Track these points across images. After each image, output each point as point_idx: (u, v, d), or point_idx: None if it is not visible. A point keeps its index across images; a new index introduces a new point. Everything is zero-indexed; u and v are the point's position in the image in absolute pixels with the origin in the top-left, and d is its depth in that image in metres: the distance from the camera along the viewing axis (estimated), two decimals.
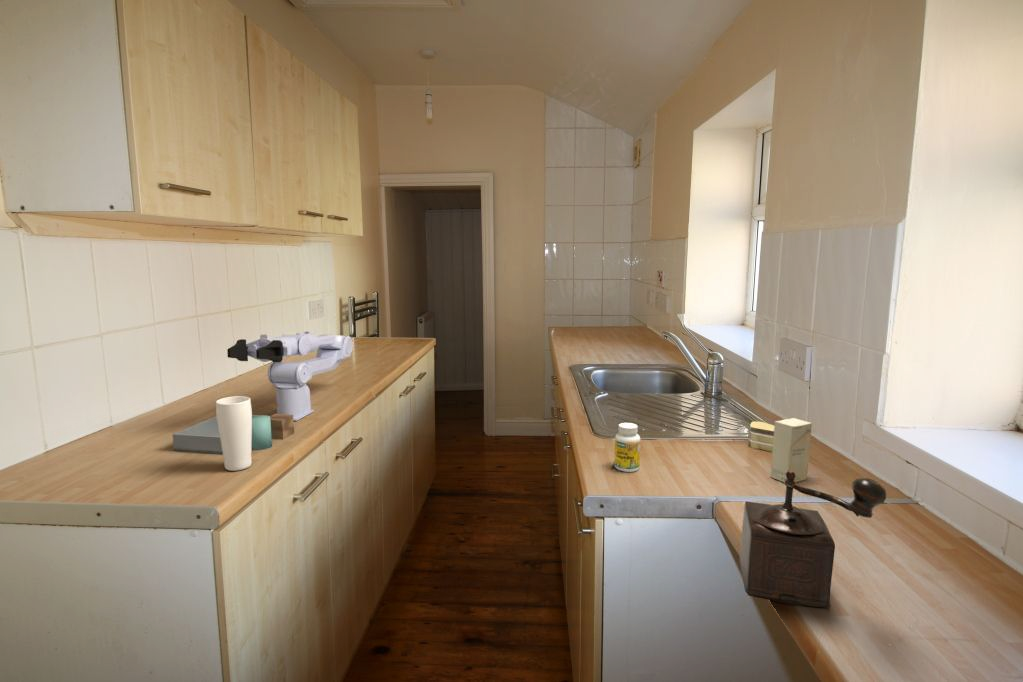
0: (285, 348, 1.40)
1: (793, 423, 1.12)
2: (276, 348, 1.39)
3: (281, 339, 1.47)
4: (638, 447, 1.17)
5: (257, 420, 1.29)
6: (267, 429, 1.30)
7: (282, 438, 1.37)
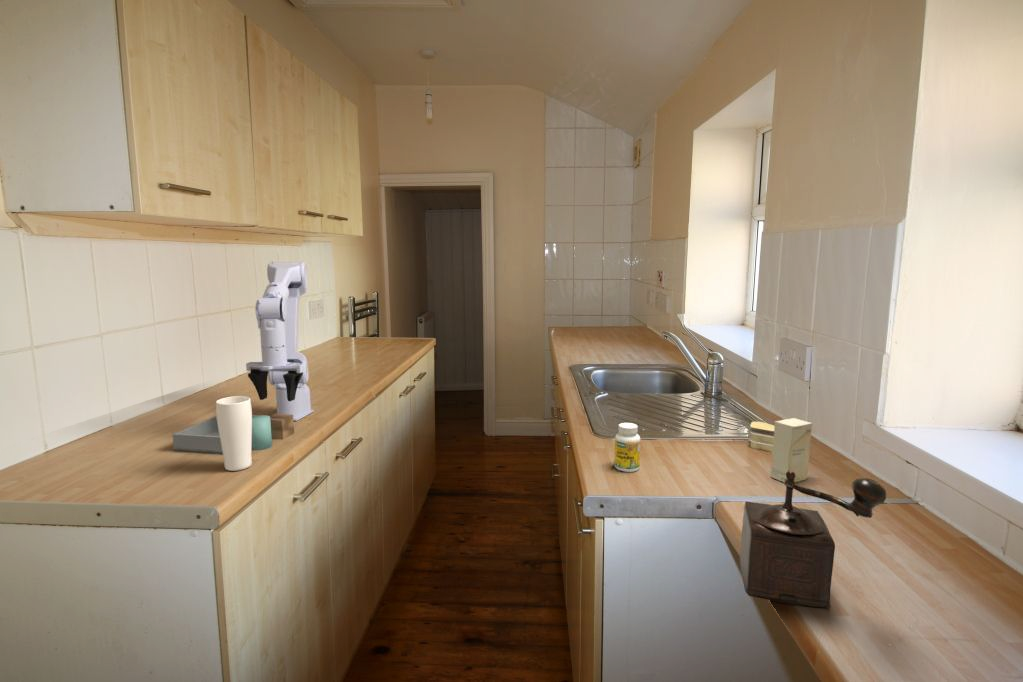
0: (298, 372, 1.35)
1: (794, 423, 1.12)
2: None
3: (278, 346, 1.34)
4: (638, 447, 1.17)
5: (257, 420, 1.29)
6: (267, 429, 1.30)
7: (282, 438, 1.37)
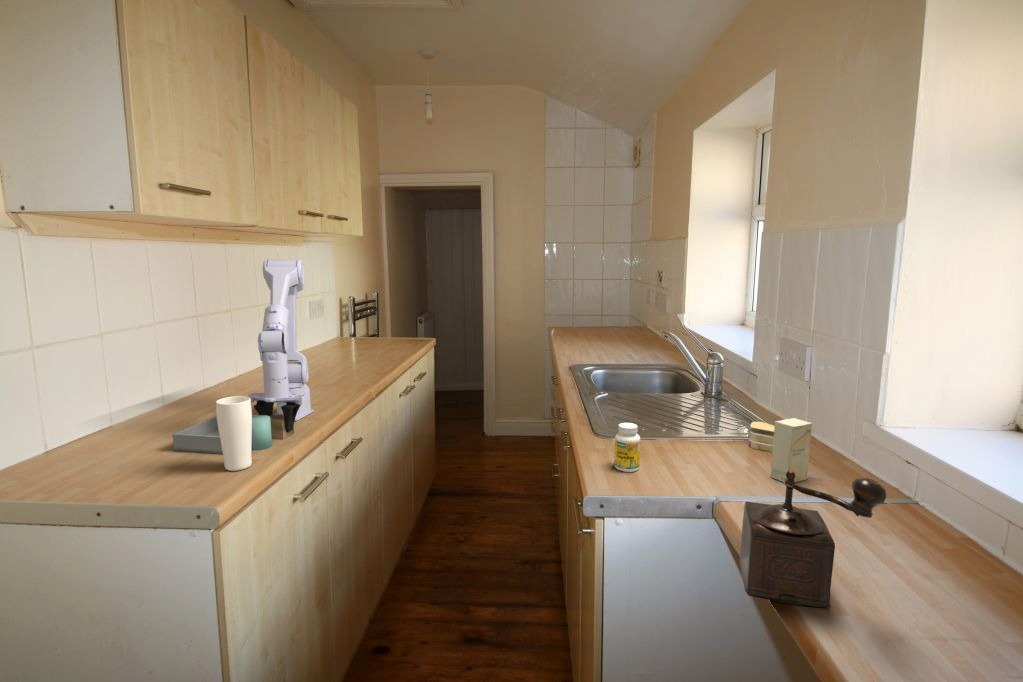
0: None
1: (794, 423, 1.12)
2: None
3: (280, 378, 1.35)
4: (638, 447, 1.17)
5: (257, 420, 1.29)
6: (267, 429, 1.30)
7: (282, 438, 1.37)
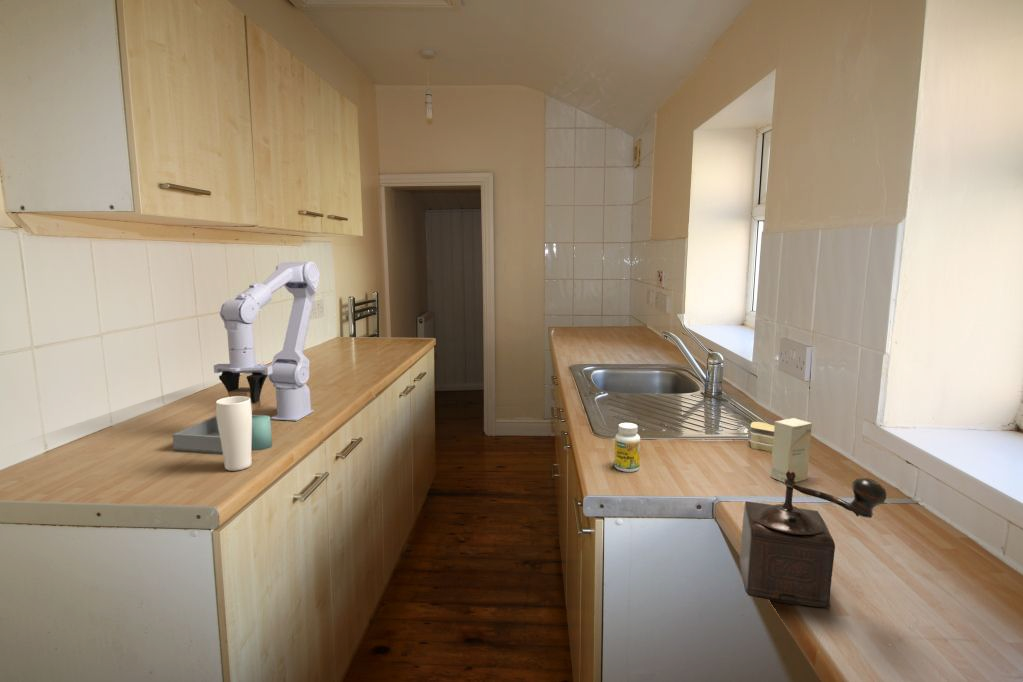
0: (266, 374, 1.35)
1: (793, 423, 1.12)
2: None
3: (239, 348, 1.33)
4: (638, 447, 1.17)
5: (257, 420, 1.29)
6: (267, 429, 1.30)
7: None
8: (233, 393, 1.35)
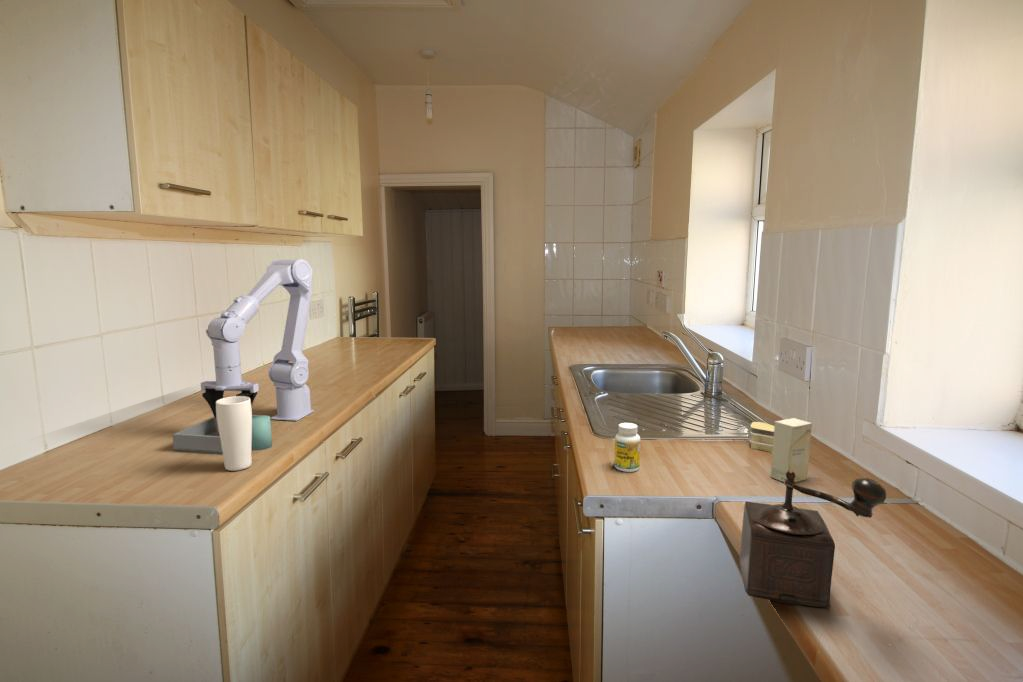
0: (252, 392, 1.36)
1: (793, 423, 1.12)
2: None
3: (223, 367, 1.34)
4: (638, 447, 1.17)
5: (257, 420, 1.29)
6: (267, 429, 1.30)
7: None
8: None
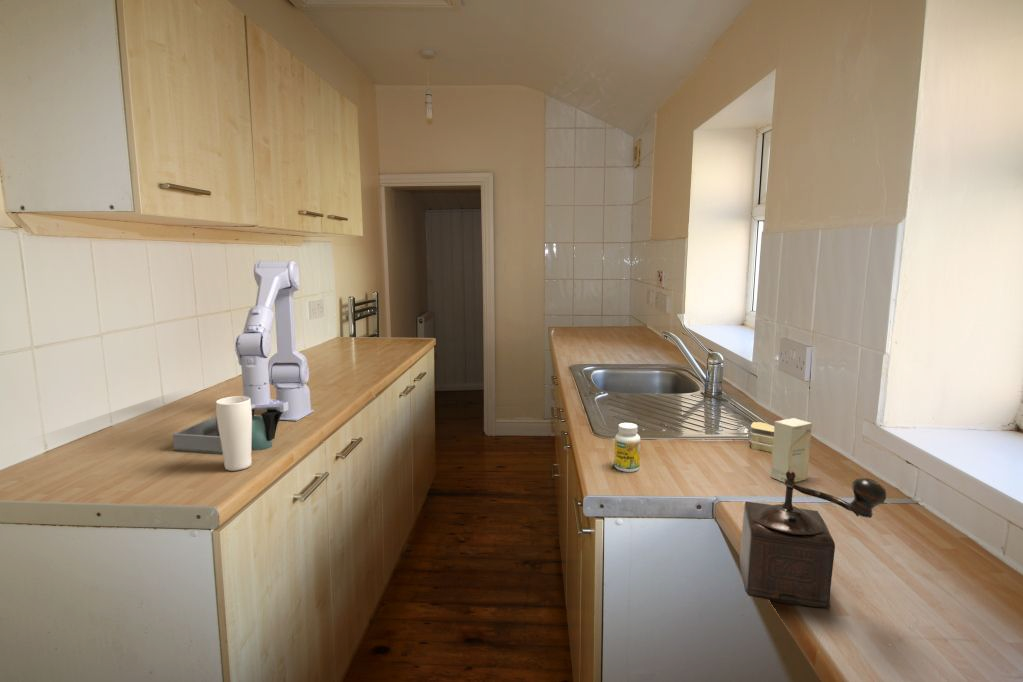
0: None
1: (793, 423, 1.12)
2: None
3: (259, 384, 1.27)
4: (638, 447, 1.17)
5: (257, 420, 1.29)
6: None
7: None
8: None
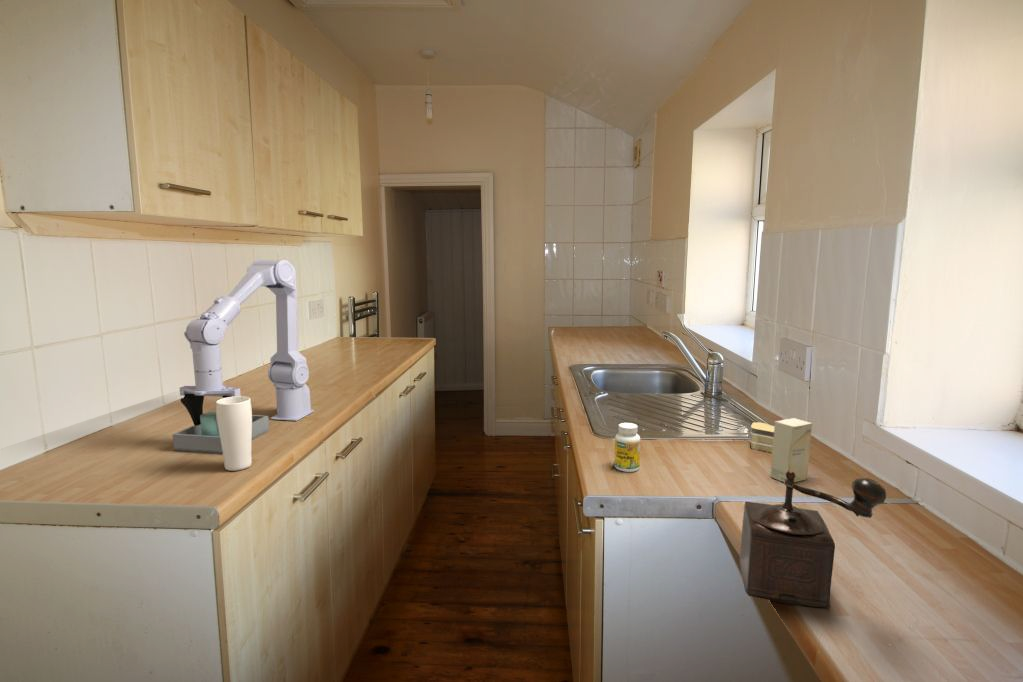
0: None
1: (794, 423, 1.12)
2: None
3: (204, 371, 1.27)
4: (638, 447, 1.17)
5: (209, 416, 1.30)
6: None
7: None
8: None
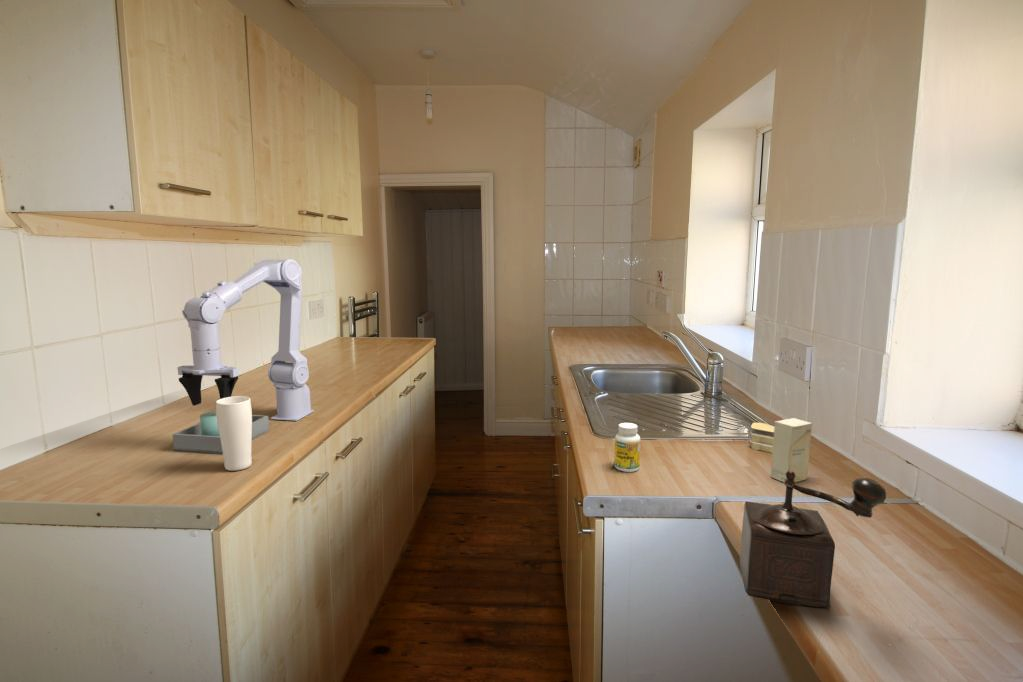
0: (232, 377, 1.28)
1: (793, 423, 1.12)
2: None
3: (202, 349, 1.26)
4: (638, 447, 1.17)
5: (209, 416, 1.30)
6: None
7: None
8: None
